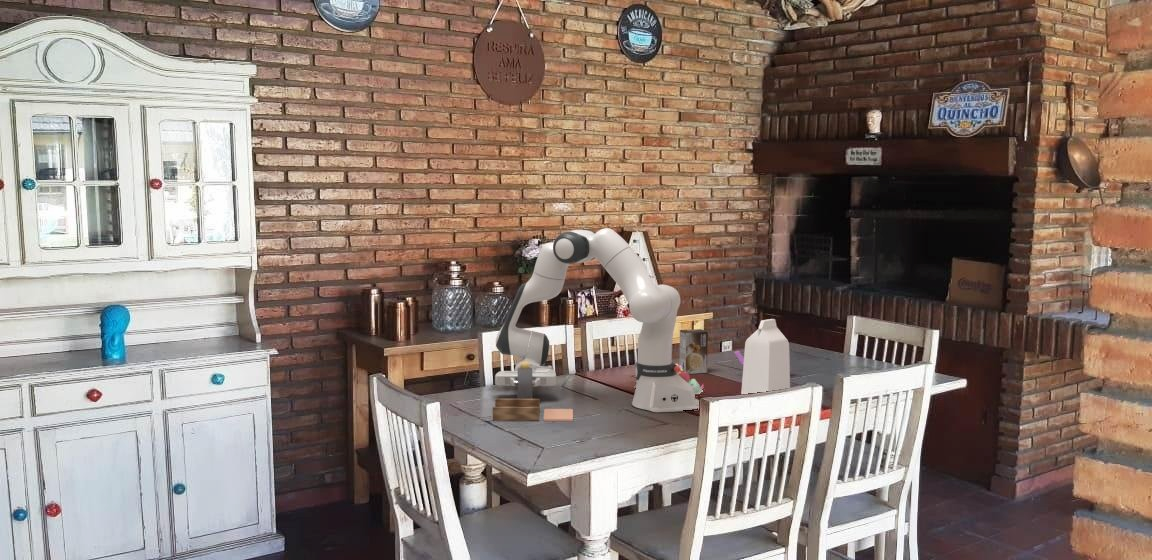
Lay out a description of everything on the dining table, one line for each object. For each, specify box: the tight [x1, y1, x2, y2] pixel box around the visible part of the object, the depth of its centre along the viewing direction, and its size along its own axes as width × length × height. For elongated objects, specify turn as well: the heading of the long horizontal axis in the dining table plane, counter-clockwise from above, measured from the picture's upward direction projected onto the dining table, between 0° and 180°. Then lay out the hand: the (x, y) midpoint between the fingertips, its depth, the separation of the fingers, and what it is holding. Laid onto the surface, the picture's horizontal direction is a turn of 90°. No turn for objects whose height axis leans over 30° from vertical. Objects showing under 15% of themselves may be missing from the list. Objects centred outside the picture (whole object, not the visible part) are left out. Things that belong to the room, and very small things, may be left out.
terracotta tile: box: [543, 408, 574, 422], centre depth 279 cm, size 9×12×1 cm
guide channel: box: [492, 398, 541, 422], centre depth 278 cm, size 14×11×4 cm
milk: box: [740, 318, 791, 395], centre depth 307 cm, size 12×12×26 cm
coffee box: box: [679, 328, 709, 375], centre depth 342 cm, size 9×6×16 cm
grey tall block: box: [517, 362, 533, 399], centre depth 291 cm, size 5×5×14 cm
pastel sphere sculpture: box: [633, 363, 705, 395], centre depth 314 cm, size 25×24×9 cm
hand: (524, 384), depth 290 cm, fingers closed on grey tall block, 5 cm apart
